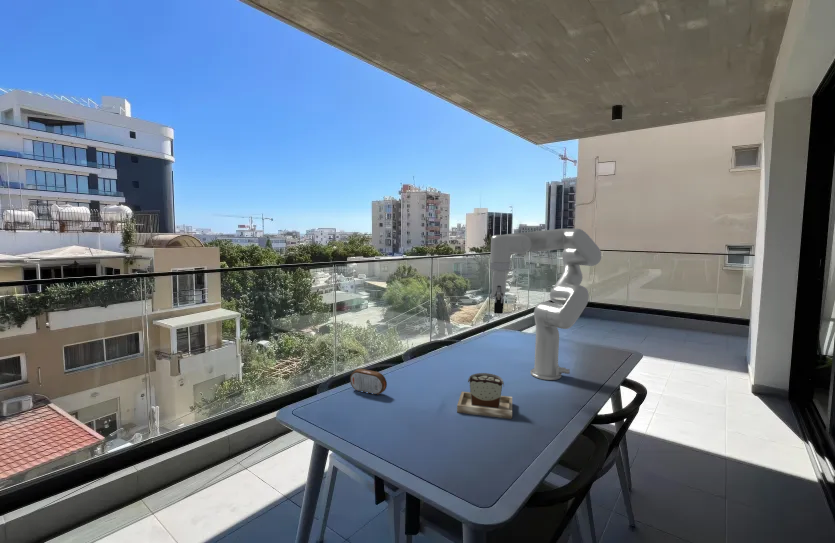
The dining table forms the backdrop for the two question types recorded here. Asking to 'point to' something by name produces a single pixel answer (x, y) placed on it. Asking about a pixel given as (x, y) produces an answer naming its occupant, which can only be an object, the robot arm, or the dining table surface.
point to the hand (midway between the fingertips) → (498, 310)
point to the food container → (485, 390)
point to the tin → (368, 381)
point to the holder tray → (502, 412)
